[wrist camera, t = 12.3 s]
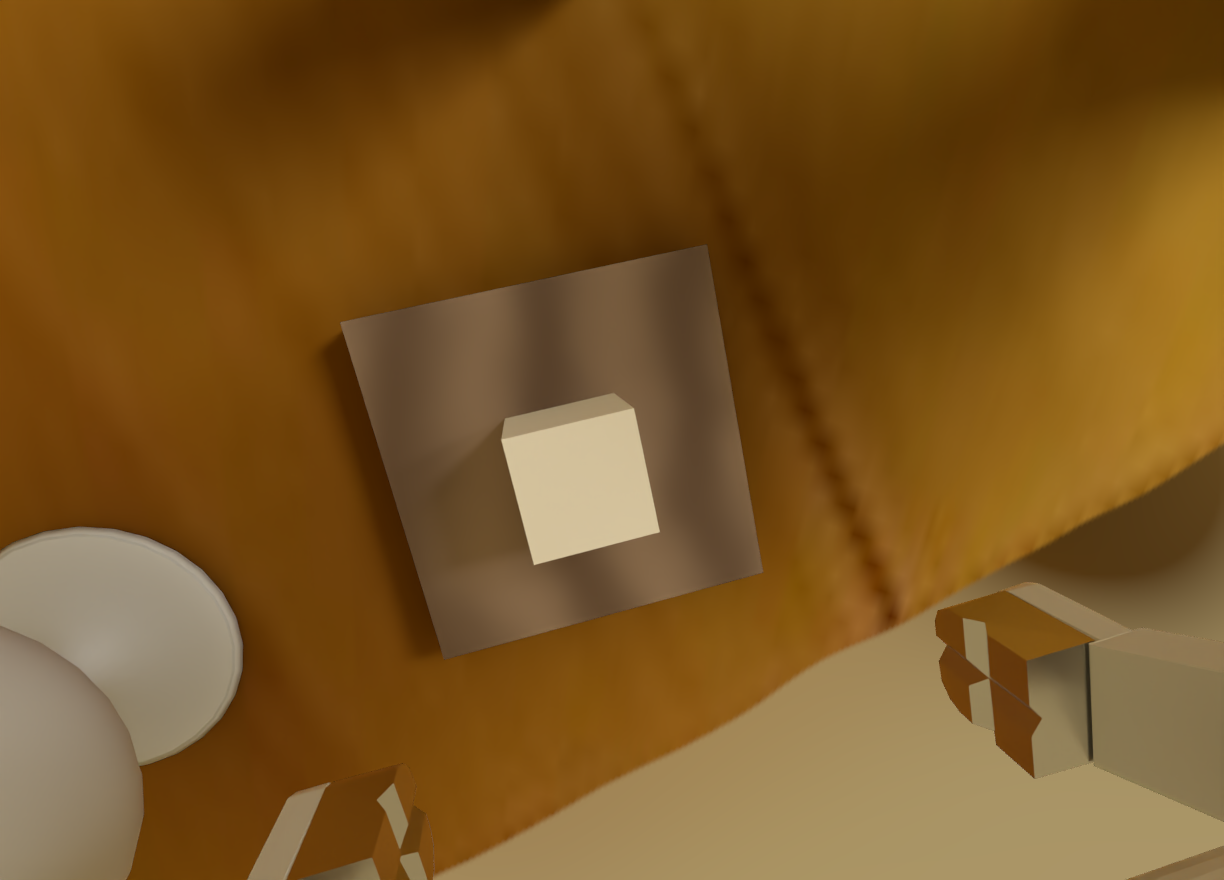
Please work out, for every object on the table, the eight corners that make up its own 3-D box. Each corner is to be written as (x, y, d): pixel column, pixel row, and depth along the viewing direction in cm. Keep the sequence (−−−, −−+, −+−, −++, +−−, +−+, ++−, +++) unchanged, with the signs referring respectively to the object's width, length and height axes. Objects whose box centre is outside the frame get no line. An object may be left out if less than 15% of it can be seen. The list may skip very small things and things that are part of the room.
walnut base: (694, 249, 28) (707, 244, 26) (748, 557, 32) (763, 572, 30) (353, 322, 27) (340, 322, 25) (449, 638, 30) (444, 659, 28)
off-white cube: (613, 393, 27) (633, 408, 22) (636, 496, 28) (659, 532, 23) (504, 418, 27) (501, 439, 22) (531, 522, 28) (534, 565, 23)
